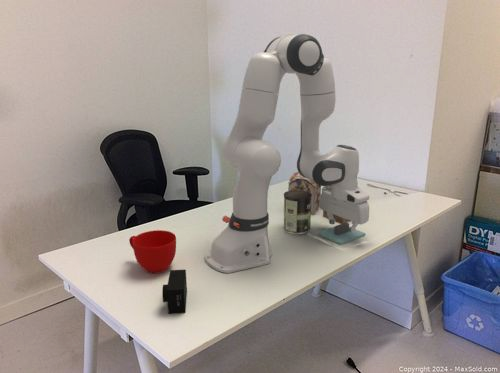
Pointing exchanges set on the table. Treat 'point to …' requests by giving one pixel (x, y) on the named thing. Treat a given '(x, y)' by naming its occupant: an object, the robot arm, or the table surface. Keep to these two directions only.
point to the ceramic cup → (154, 250)
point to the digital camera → (176, 292)
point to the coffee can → (297, 211)
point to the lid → (341, 233)
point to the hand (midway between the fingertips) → (341, 227)
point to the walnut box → (336, 218)
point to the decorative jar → (306, 189)
